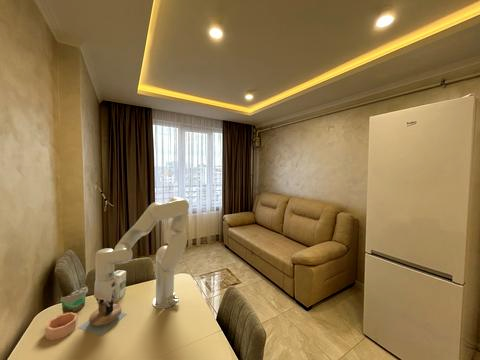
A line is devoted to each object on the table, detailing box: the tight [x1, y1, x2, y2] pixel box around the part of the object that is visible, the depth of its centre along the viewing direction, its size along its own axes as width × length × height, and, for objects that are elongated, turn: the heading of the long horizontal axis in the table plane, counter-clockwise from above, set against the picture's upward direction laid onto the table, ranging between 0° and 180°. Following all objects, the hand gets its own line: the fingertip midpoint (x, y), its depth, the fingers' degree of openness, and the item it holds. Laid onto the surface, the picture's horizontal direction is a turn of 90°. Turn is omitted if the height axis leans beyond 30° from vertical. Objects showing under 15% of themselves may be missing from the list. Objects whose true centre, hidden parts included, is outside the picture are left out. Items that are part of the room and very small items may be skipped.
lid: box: [88, 300, 123, 325], centre depth 95 cm, size 13×13×6 cm
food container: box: [59, 284, 89, 314], centre depth 102 cm, size 12×6×10 cm, turn 168°
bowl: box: [44, 312, 79, 341], centre depth 88 cm, size 10×10×5 cm
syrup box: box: [115, 269, 127, 301], centre depth 113 cm, size 6×6×14 cm
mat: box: [77, 312, 128, 337], centre depth 95 cm, size 14×14×1 cm
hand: (105, 311), depth 95 cm, fingers closed on lid, 4 cm apart
